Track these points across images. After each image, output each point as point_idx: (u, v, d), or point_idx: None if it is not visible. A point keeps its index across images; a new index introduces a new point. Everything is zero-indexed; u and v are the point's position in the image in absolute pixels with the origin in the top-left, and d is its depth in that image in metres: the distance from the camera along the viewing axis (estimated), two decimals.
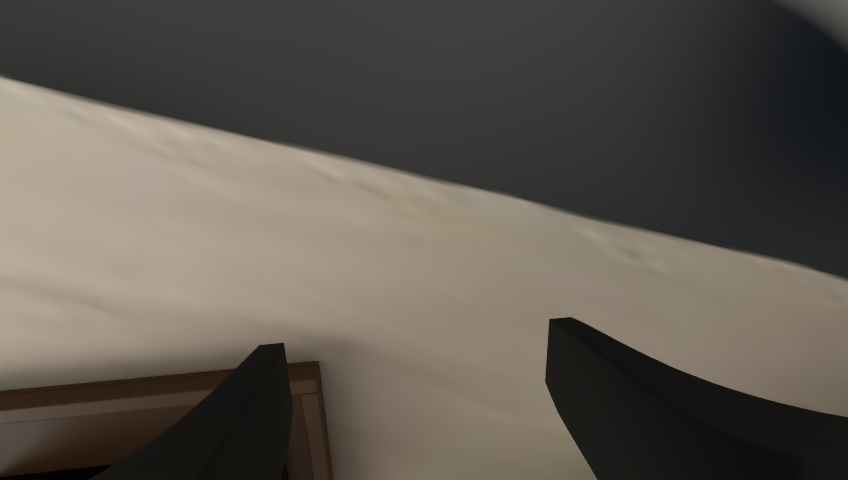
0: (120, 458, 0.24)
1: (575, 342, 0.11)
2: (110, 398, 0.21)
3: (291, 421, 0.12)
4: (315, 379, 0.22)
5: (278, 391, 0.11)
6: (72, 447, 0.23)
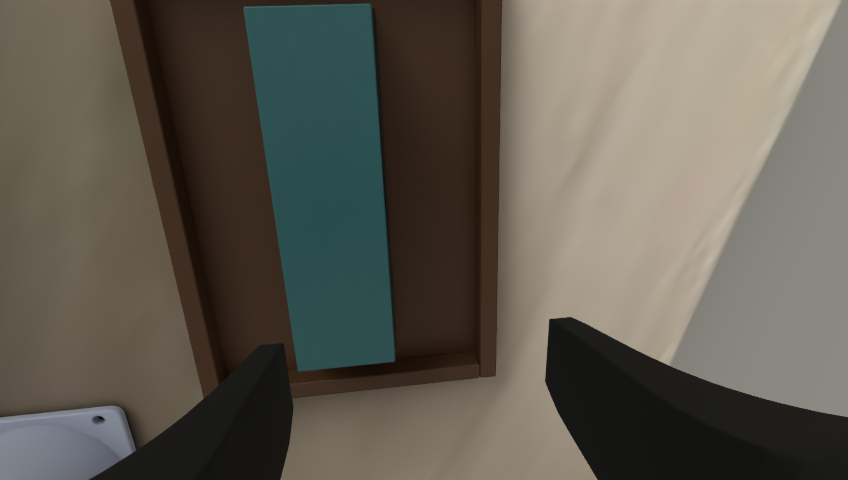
0: (391, 166, 0.20)
1: (575, 342, 0.11)
2: (498, 190, 0.20)
3: (291, 421, 0.12)
4: (494, 375, 0.23)
5: (278, 391, 0.11)
6: (412, 116, 0.19)
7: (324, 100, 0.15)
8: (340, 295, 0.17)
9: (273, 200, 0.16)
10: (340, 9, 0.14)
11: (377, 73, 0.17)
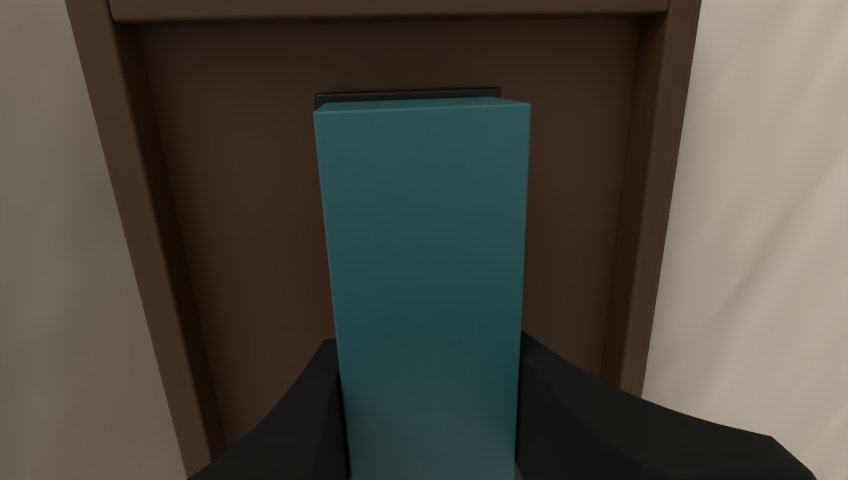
0: None
1: None
2: (650, 334, 0.14)
3: None
4: None
5: None
6: (529, 229, 0.13)
7: (440, 257, 0.09)
8: None
9: (345, 404, 0.10)
10: (479, 113, 0.08)
11: None
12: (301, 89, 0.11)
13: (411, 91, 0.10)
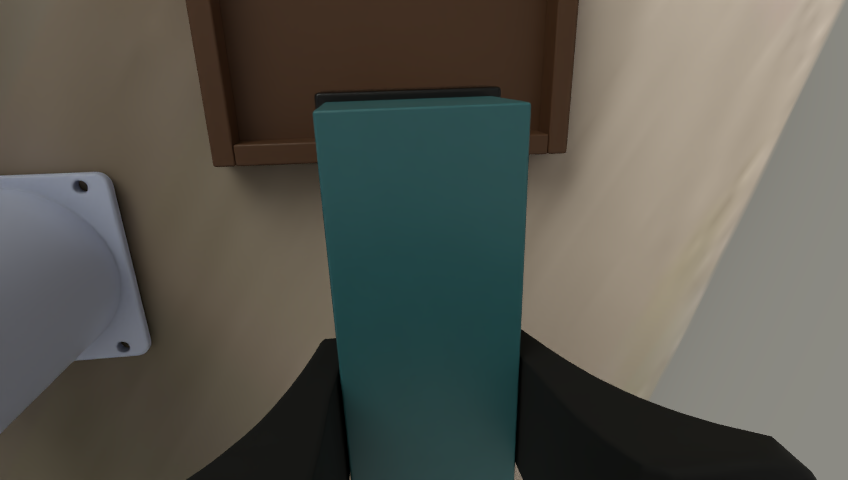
0: None
1: None
2: None
3: None
4: (565, 151, 0.19)
5: None
6: None
7: (439, 256, 0.09)
8: None
9: (345, 404, 0.10)
10: (479, 112, 0.08)
11: None
12: None
13: (411, 90, 0.10)
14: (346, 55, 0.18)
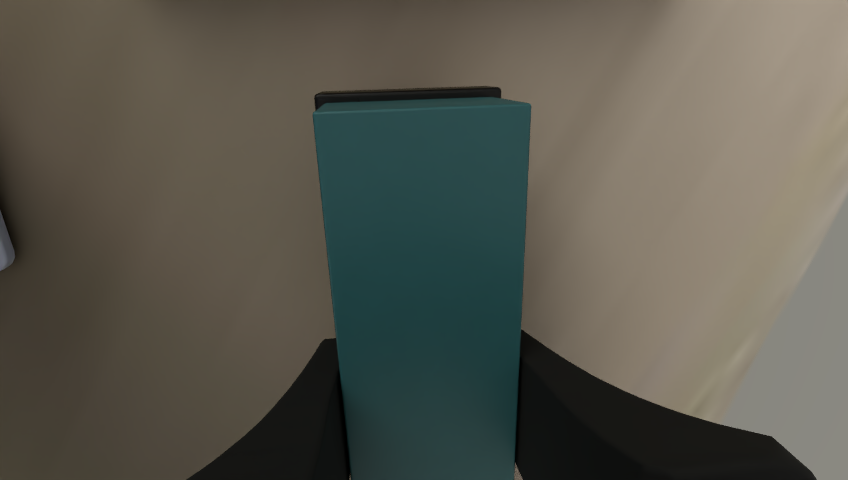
0: None
1: None
2: None
3: None
4: None
5: None
6: None
7: (439, 257, 0.09)
8: None
9: (345, 405, 0.10)
10: (479, 113, 0.08)
11: None
12: None
13: (411, 91, 0.10)
14: None
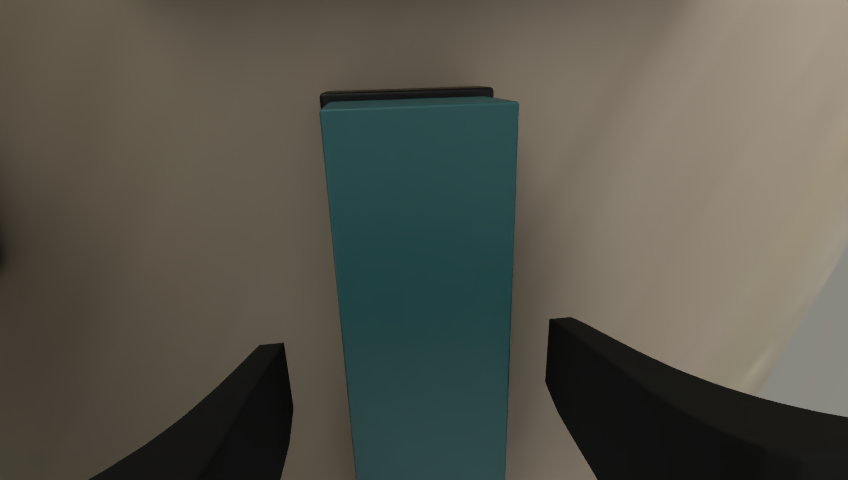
0: None
1: (575, 342, 0.11)
2: None
3: (291, 421, 0.12)
4: None
5: (278, 391, 0.11)
6: None
7: (435, 243, 0.10)
8: None
9: (348, 381, 0.11)
10: (471, 111, 0.09)
11: None
12: None
13: (409, 91, 0.11)
14: None
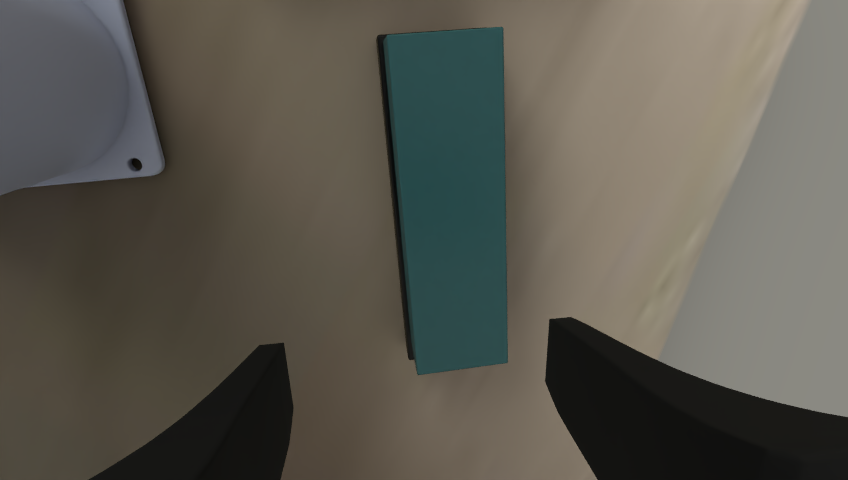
0: None
1: (575, 342, 0.11)
2: None
3: (291, 421, 0.12)
4: None
5: (278, 391, 0.11)
6: None
7: (456, 119, 0.16)
8: (460, 301, 0.18)
9: (404, 214, 0.17)
10: (475, 33, 0.15)
11: None
12: None
13: (434, 31, 0.17)
14: None
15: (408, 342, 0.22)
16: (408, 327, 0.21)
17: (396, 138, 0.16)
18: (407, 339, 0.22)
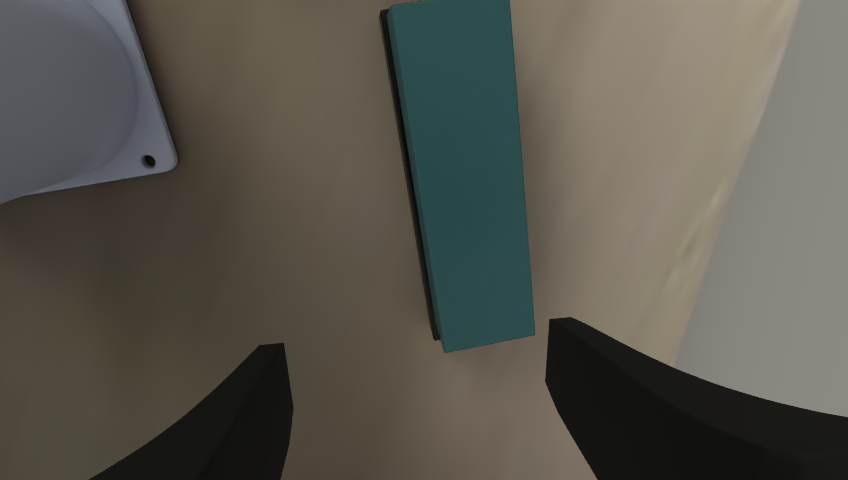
0: None
1: (575, 342, 0.11)
2: None
3: (291, 421, 0.12)
4: None
5: (278, 391, 0.11)
6: None
7: (467, 87, 0.16)
8: (483, 275, 0.18)
9: (420, 189, 0.17)
10: None
11: None
12: None
13: None
14: None
15: (432, 322, 0.21)
16: (431, 307, 0.21)
17: (407, 112, 0.16)
18: (431, 319, 0.21)
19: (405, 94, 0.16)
